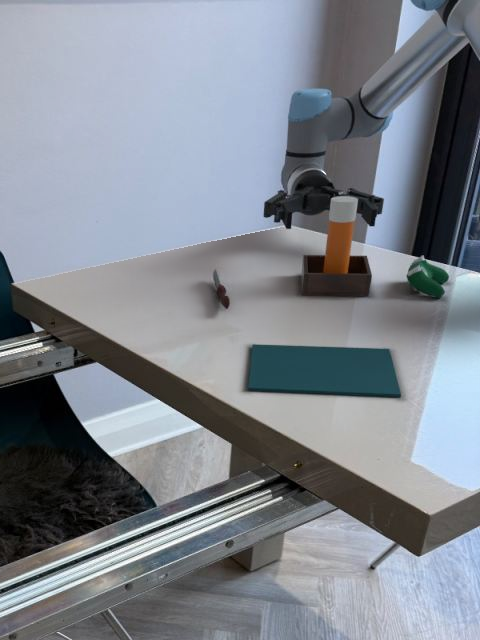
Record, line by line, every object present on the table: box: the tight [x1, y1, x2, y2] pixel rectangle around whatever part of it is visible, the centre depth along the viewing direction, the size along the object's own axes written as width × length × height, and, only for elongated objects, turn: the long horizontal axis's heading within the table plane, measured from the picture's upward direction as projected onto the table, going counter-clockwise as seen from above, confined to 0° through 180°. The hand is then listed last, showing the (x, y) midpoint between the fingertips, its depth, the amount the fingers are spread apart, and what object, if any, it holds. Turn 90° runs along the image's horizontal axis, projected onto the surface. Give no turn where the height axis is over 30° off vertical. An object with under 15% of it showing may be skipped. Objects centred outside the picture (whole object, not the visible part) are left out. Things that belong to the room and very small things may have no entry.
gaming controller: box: [406, 254, 450, 299], centre depth 123 cm, size 9×4×6 cm
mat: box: [247, 343, 402, 398], centre depth 101 cm, size 18×14×1 cm
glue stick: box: [323, 196, 358, 273], centre depth 124 cm, size 4×4×13 cm
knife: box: [212, 268, 231, 310], centre depth 125 cm, size 18×2×3 cm, turn 179°
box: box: [300, 254, 373, 297], centre depth 127 cm, size 10×10×3 cm
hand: (331, 219), depth 129 cm, fingers open, 13 cm apart
